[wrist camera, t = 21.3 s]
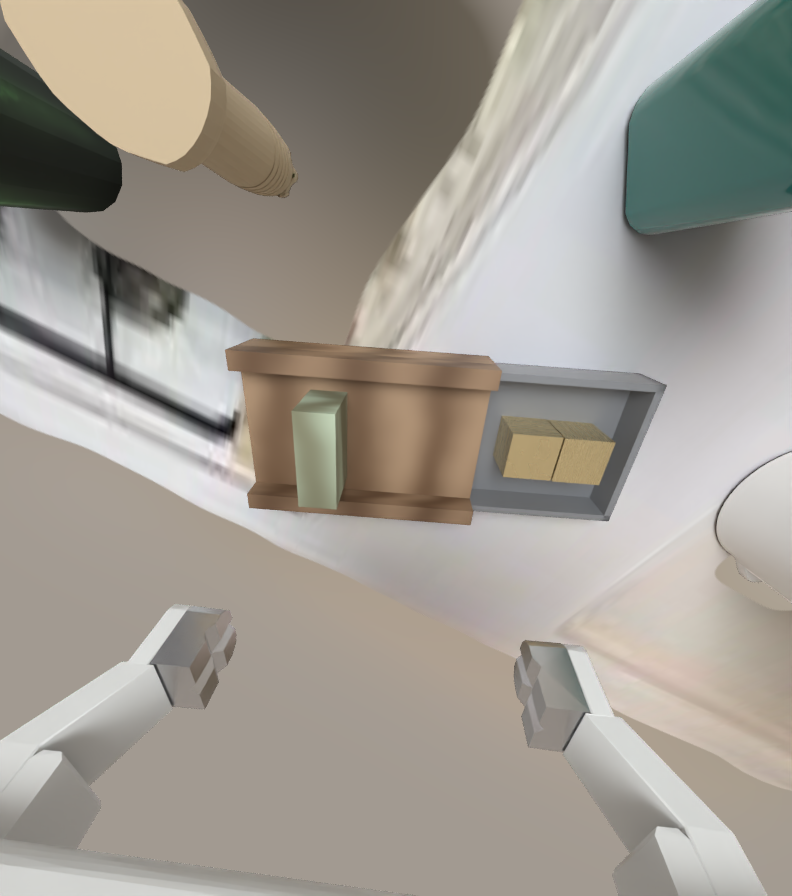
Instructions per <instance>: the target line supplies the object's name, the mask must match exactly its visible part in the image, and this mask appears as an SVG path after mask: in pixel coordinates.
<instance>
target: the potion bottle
mask: <svg viewBox="0 0 792 896" xmlns="http://www.w3.org/2000/svg"><path fill="white" fill-rule="evenodd" d="M121 186H122V163H121V160H120V157H119V154H118V151H117V148H116V146H114V145H112V144H111V143H109V142H108V141H106V140H105V139H104V138H102V137H101V136H100V135H98V134H97V133H96V132H95V131H94V130H92V129H91V128H90V127H89V126H88V125H87V124H85V123H84V122H83V121H82V120H81V119H80V118H79V117H77V116H76V115H75V114H74V113H73V112H72V111H71V110H69V109H68V108H67V107H66V106H65V105H64V104H63V103H62V102H61V101H60V100H59V99H58V98H57V97H56V96H55V95H54V94H53V93H52V91H51V90H50V89H49V87H48V86H47V85H46V83H45V82H44V81H43V79H42V78H41V77H40V75H39V74H38V73H37V72H35V71H34V70H32V69H31V68H29V67H28V66H26V65H25V64H23V63H22V62H20V61H19V60H17V59H16V58H14V57H12V56H11V55H9V54H8V53H6V52H5V51H3V50H2V49H0V206H7V207H20V208H34V209H47V210H61V211H74V212H97V211H104V210H105V209H106V208H108V207H109V206H110V205H112V204H113V203H114V202H115V201H116V199H117V196H118V194H119V191H120V189H121Z"/></svg>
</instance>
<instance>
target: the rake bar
mask: <svg viewBox="0 0 792 896" xmlns="http://www.w3.org/2000/svg"><path fill="white" fill-rule="evenodd" d="M291 412H292V425H293V439H294V452H295V466H296V479H297V492H298V506H299V507H310V508H323V509H336V510H337V506H338V503H339V500H340V497H341V494H342V491H343V488H344V485H345V481H346V478H347V392H338V391H324V390H311V389H310V391H309V392H308V393H307V394H306V395H305V396H304V397H303V399H302V400H301V401H300V402H299V403H298V404H297V405H296V406H295V408H294V409H293V410H292V411H291Z"/></svg>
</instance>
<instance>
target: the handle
mask: <svg viewBox="0 0 792 896" xmlns="http://www.w3.org/2000/svg"><path fill="white" fill-rule="evenodd" d="M0 3H1V7H2V11H3V15H4V18H5V21H6V23H7V25H8V26H9V28H10V29H11V31H12V33H13V34H14V36H15V37H16V39H17V41H18V42H19V44H20V45H21V47H22V49H23V50H24V52H25V53H26V55H27V56H28V58H29V60H30V61H31V63H32V64H33V66H34V67H35V69H36V70H37V72H38V74H39V75H40V77H41V78H42V79H43V81H44V82H45V83H46V85H47V86H48V87H49V89H50V90H51V91H52V93H53V94H54V95H55V96H56V97H57V98H58V99H59V100H60V101H61V102H62V103H63V104H64V105H65V106H66V107H67V108H68V109H69V110H71V111H72V112H73V113H74V114H75V115H76V116H77V117H79V118H80V119H81V120H82V121H83V122H84V123H85V124H87V125H88V126H89V127H90V128H91V129H92V130H94V131H95V132H96V133H97V134H98V135H100V136H101V137H102V138H104V139H105V140H106V141H108V142H109V143H111V144H112V145H114V146H116V147H118V148H120V149H122V150H124V151H127V152H129V153H131V154H133V155H136V156H138V157H141V158H144V159H146V160H149V161H152V162H154V163H157V164H160V165H163V166H166V167H169V168H173V169H176V170H179V171H183V172H185V171H188V170H191V169H193V168H195V167H197V166H198V165H200V164H203V165H204V166H206V167H207V168H209V169H210V170H212V171H213V172H214V173H216V174H217V175H219V176H220V177H222V178H223V179H225V180H227V181H228V182H230V183H232V184H234V185H236V186H238V187H240V188H242V189H244V190H247V191H249V192H252V193H255V194H258V195H263V196H278V197H281V198H285V197H287V196H289V191H290V188H291V187H292V185H293V184H294V183H295V182H297V180H298V173H297V172H296V170H295V169H294V167H293V164H292V160H291V152H290V150H289V148H288V147H287V145H286V144H285V143H284V141H283V140H282V138H281V136H280V135H279V133H278V132H277V131H276V129H275V128H274V127H273V125H272V124H271V123H270V122H269V120H268V119H267V118H266V117H265V116H264V115H263V114H262V113H261V111H260V110H259V109H258V108H257V107H256V106H255V105H254V104H253V103H252V102H251V101H249V100H248V99H247V98H246V97H245V96H244V95H242V94H241V93H240V92H239V91H238V90H237V89H236V88H234V87H233V86H232V85H231V84H230V83H229V82H228V81H226V80H225V79H224V78H223V77H222V75H221V72H220V70H219V68H218V65H217V63H216V61H215V59H214V57H213V55H212V52H211V50H210V48H209V47H208V44H207V42H206V40H205V38H204V36H203V34H202V33H201V31H200V29H199V27H198V25H197V23H196V21H195V20H194V18H193V16H192V14H191V12H190V11H189V9H188V8H187V6H186V5H185V4H184V3H183V1H182V0H0Z"/></svg>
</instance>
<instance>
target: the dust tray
mask: <svg viewBox="0 0 792 896" xmlns="http://www.w3.org/2000/svg"><path fill="white" fill-rule="evenodd" d="M495 364H496V365H497V366H498V367H499V368H500V369H501V370H502V374H501V379H500V384H499V389H498V391H491V393H490V398H489V403H488V408H487V413H486V418H485V423H484V429H483V434H482V439H481V444H480V449H479V454H478V459H477V464H476V469H475V474H474V479H473V485H472V490H471V495H470V501H471V505H472V509H473V511H482V512H495V513H508V514H521V515H533V516H546V517H559V518H572V519H585V520H598V521H609V519H610V516H611V514H612V512H613V510H614V507H615V505H616V503H617V500H618V498H619V496H620V493H621V491H622V489H623V486H624V484H625V482H626V479H627V477H628V475H629V472H630V470H631V468H632V465H633V463H634V461H635V458H636V456H637V454H638V451H639V449H640V447H641V444H642V442H643V440H644V437H645V435H646V433H647V430H648V428H649V426H650V423H651V421H652V419H653V416H654V414H655V412H656V410H657V407H658V405H659V403H660V400H661V398H662V396H663V393H664V391H665V389H666V386H667V385H665V384H663V383H660V382H658V381H656V380H653V379H651V378H649V377H646V376H644V375H642V374H638V373H625V372H612V371H598V370H585V369H572V368H558V367H545V366H532V365H519V364H505V363H495ZM501 416H513V417H526V418H538V419H547V420H557V421H570V422H582V423H592V424H594V425H595V426H596V427H597V428H598V429H600V430H601V431H602V432H603V433H605V434H606V435H607V436H608V437H609V438H611V439H612V440H613V441H614V442H616V443H615V446H614V448H613V451H612V453H611V456H610V458H609V461H608V464H607V466H606V469H605V471H604V474H603V476H602V479H601V481H600V484H599V485H590V484H578V483H566V482H553V481H551V480H550V481H547V480H534V479H522V478H509V477H503V476H502V474H501V472H500V469H499V467H498V465H497V463H496V461H495V458H494V456H493V452H494V448H495V443H496V439H497V434H498V430H499V425H500V421H501Z"/></svg>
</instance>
